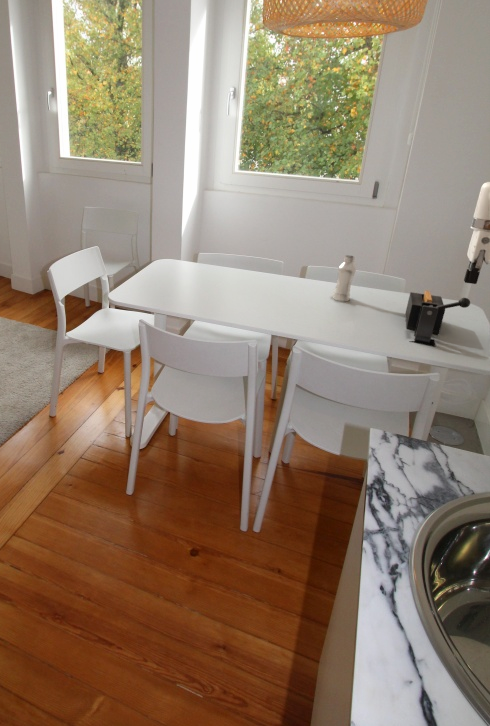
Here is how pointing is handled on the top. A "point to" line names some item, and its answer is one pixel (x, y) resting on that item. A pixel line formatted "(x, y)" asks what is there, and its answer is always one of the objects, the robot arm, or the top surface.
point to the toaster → (414, 310)
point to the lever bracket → (425, 324)
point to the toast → (427, 297)
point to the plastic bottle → (344, 279)
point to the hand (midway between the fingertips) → (470, 282)
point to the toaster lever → (455, 304)
